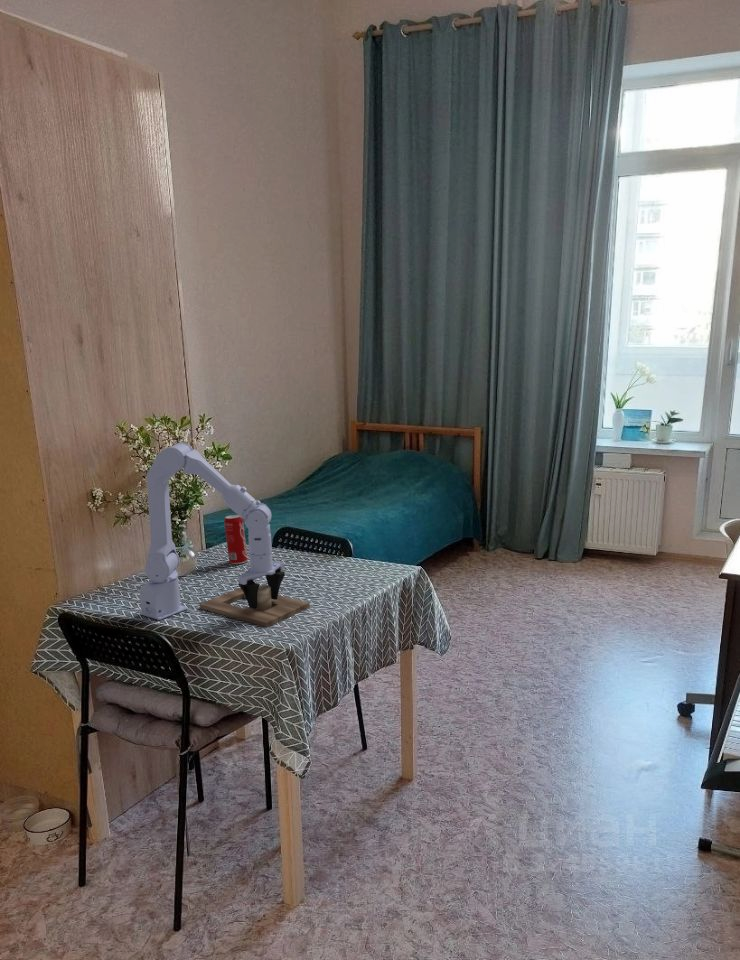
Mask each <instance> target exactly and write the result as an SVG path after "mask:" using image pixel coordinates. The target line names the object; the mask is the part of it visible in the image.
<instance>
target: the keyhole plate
mask: <svg viewBox="0 0 740 960" xmlns="http://www.w3.org/2000/svg"><path fill="white" fill-rule="evenodd" d="M243 598H244V599H246V596H245V594H244V592H243V591H242V589H241V587H238V588H236V589H234V590H231V591H230V592H229V591H228V592H226V593H224V594H221V595H219V596H216V597H214V598H211V599H208V600H206V601H204V602H201V603H199V610H200V609H201V610H203V611H204V610H205V611H207V610H208V612H212V613H214V612H215V614H218V615H221V614H222V616H226V617H229V618H232V619H236V620H240V621H242V622H243V621H244V622H247V623H250V624H253V625H257V626H260V627H264V628H269V627H271V626H274V625H275V624H278V623H279V622H281V621H283V620H285V619H288V618H290V617H292V616H294V615H296V614H298V613H300V612H302V611H304V610H307V609H309V608H310V602H308V601H303V600H301V599H296V598H292V597H289V596H284V595H280V594H278V598H277V599H276V600H274V599H271V603H272V608H270V609H268V610H265V611H261V610H257V609H253V608H249V606H245V607H240V606H236V605H233V604H232V603H234V602H237V601H238V600H241V599H243Z"/></svg>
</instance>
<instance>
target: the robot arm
mask: <svg viewBox="0 0 740 960" xmlns="http://www.w3.org/2000/svg"><path fill="white" fill-rule="evenodd" d="M182 469H184V470H183V472H182V473H183V475H184V474H187V475H197V476H198V477H200V478H201V479H202V480H203V481H204V482H206V483H207V484H208V485H210V486H211V487H212V488H213V489H215V490H216V491H217V492H218V493H220V494H221V496H222V502H223V503H224V504H225V505H226V506H227V507H228V508H230V509H231V510H232V511H233V512H234V513H235V514H238V515H239V516H240V517H241V518H243V520H244V524H245V527H246V528H247V529H248V530H247V531H248V536H247V538H248V540H247V541H248V552H249V553H248V555H249V569H248V570H246V571H245V572H243V574H240V575H238V579H237V580H238V586H239V588H241V589H242V591H243V592H244V594H245V596H246V598H245V599H246V601H247V604H248V607H249V608H253V609H256V608H257V593H258V588H259V586H260V583H257V582H255V580H258V579H259V578H262V577H265V578H266V582H267V586H270V587H271V599H274V600H276V599H277V598H278V595H279V593H280V592H279V591H280V588H281V585H282V582H283V579H284V577H285V576H286V572H285V571H283V570H284V568H285V567H284V562H283V561H278V560H277V561H274V562H273V550H272V548H273V547H272V533H271V524H270V522H271V520H272V516H273V515H272V510H271V509H270V507H268V505H267V504H265V503H261V501H260V500H259V499H257V500H256V499H255V498H254V497H253V496H252V495H251V494H249V493H248V492H247V490H248V489H247V488H246V486H244V485H242V486H241V485H239V484H231V483H230V482H229V481H228V480H227V479H226V478H225V477H224V476H223V475H222V474H221V473H220V472H219V471H218V470H217V469H216V468H215V467H214V466H212V465H211V464H210V462H209V461H208V460H206V459H205V457H203V456H202V454H201V453H200V452H199V451H197V449H193V447H192V446H191V445H190V444H189V443H187V442H183V441H182V442H177V443H176V442H175V443H174V444H173V445H172V446H169V447H166V448H164V449H163V450H162V451H160V452H159V453H158V454H157V455H155V458H154V461H153V463H152V465H151V466H150V468H149V470H148V471H147V473H146V488H147V501H148V503H147V504H148V517H149V531H150V532H149V535H150V545H149V549H148V552H147V561H146V563H145V568H144V572H145V575H146V577H147V578H148V580H147V582H146V583H144V584H143V585H141V586H140V589H139V596H140V608H141V609H140V610H141V611H140V612H139V614H140V615H142V616H145V617H148V618H151V619H154V620H158V621H161V620H163V619H165V618H169V617H170V616H171V617H172V616H174V615H176V614H178V613H181V612H183V611H185V610H188V609H189V607H188V606H186V605H182V604H181V596H180V584H179V583H180V582H179V573H178V572H177V569H178V567H179V565H180V562H181V561H180V556H179V554H178V553H177V550H176V544H175V542H174V541H173V537H172V536H173V535H172V518H171V517H172V516H171V504H170V500H171V499H170V486H169V480H171V478H172V477H174V476H175V475H176V474H177V473H178V472H180V471H181V470H182Z"/></svg>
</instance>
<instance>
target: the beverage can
mask: <svg viewBox="0 0 740 960" xmlns="http://www.w3.org/2000/svg"><path fill="white" fill-rule="evenodd" d="M223 521H224V522H223V524H224V531H225V538H226V539H225V540H226V546H227V553H228V555H227V556H228V562H229V563H230V564H232V565H241V564H244V563H247V562H248V559H249V558H248V551H247V543H246V536H245V526H244V519H243V518H241V517H240V516H239V515H238V514H236V513H235V514H229V515H226V516H224V520H223Z"/></svg>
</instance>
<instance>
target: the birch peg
mask: <svg viewBox="0 0 740 960" xmlns="http://www.w3.org/2000/svg"><path fill="white" fill-rule="evenodd" d="M270 608H272V603H271V587H270V586H268V584H267V585H266V584H262V585H259V588H258V593H257V608H256V609H257V610H261V611H265V610H268V609H270Z"/></svg>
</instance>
